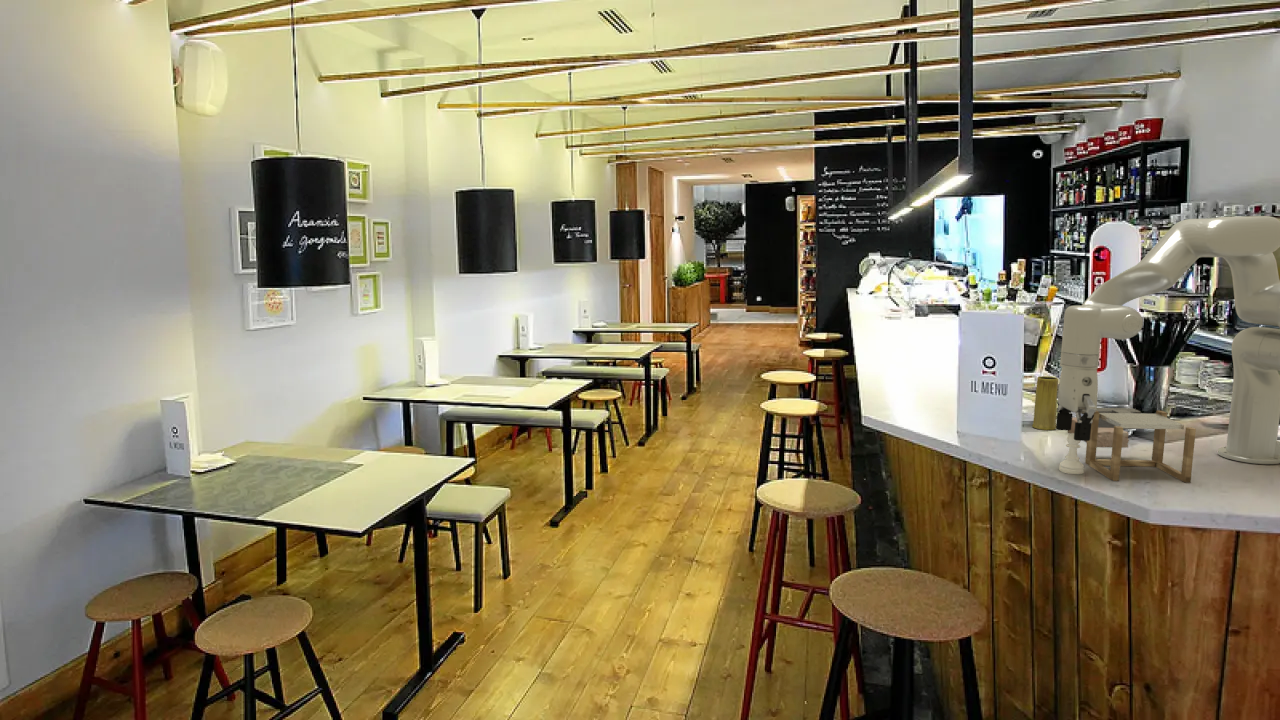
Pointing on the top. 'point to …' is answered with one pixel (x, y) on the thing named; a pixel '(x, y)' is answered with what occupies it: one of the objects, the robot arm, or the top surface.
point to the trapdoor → (1134, 419)
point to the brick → (1104, 436)
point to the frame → (1155, 462)
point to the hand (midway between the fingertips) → (1072, 435)
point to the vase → (1045, 403)
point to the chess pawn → (1072, 458)
